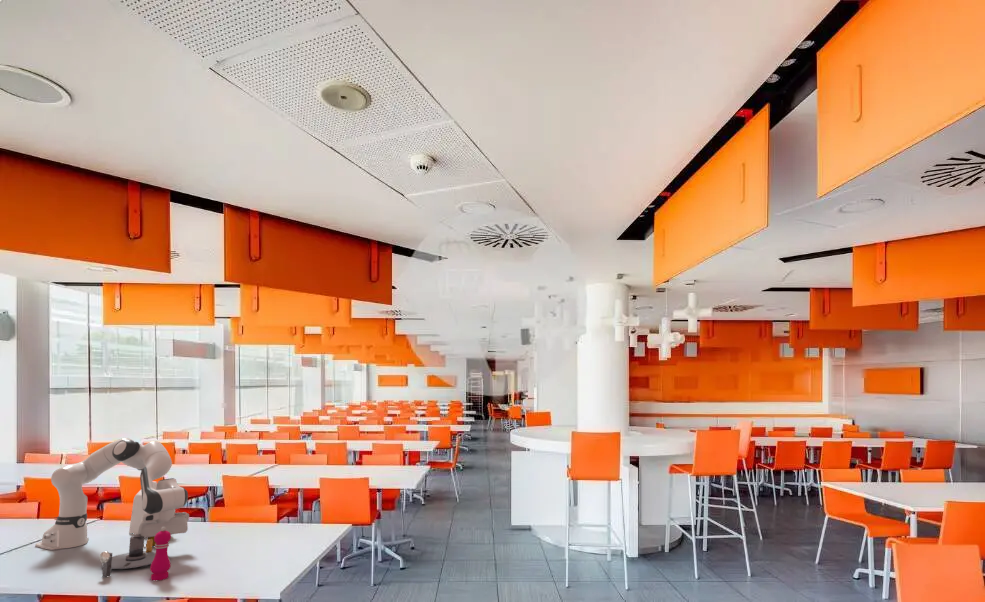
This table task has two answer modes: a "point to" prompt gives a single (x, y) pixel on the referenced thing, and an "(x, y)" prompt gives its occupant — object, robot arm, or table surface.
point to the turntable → (121, 562)
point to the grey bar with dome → (106, 563)
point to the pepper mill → (161, 556)
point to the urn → (136, 548)
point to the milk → (137, 512)
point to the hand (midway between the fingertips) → (162, 545)
